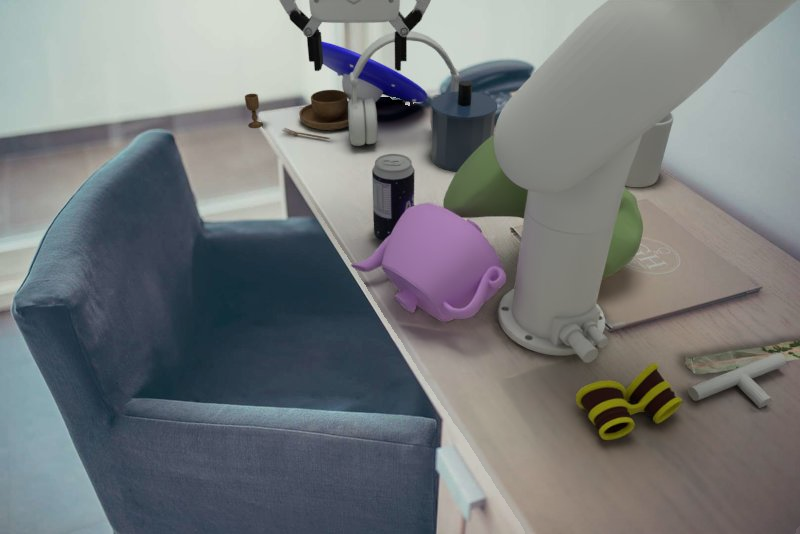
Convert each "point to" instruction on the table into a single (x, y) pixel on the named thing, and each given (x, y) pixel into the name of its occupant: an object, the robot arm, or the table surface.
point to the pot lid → (464, 104)
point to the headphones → (365, 110)
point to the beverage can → (391, 192)
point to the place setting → (313, 111)
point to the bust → (498, 196)
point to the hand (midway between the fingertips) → (358, 67)
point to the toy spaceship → (370, 76)
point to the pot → (457, 139)
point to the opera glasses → (613, 409)
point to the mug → (650, 154)
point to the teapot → (438, 263)
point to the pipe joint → (741, 380)
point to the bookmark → (740, 357)
